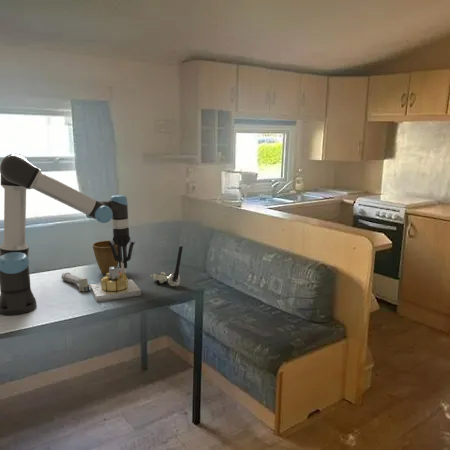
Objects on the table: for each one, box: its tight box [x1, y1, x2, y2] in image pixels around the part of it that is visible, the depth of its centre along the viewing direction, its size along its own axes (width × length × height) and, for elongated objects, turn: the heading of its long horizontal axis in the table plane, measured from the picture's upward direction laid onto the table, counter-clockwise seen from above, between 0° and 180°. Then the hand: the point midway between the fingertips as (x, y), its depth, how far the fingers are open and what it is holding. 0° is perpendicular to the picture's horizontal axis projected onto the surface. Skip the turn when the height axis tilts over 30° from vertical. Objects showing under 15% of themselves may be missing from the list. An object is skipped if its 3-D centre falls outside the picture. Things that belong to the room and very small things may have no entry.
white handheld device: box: [60, 272, 91, 292], centre depth 226 cm, size 5×7×25 cm
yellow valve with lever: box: [100, 270, 129, 291], centre depth 219 cm, size 20×12×5 cm, turn 179°
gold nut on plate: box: [89, 266, 142, 302], centre depth 215 cm, size 20×18×12 cm
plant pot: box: [92, 239, 119, 275], centre depth 247 cm, size 15×15×16 cm
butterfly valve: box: [150, 245, 184, 288], centre depth 229 cm, size 9×20×17 cm
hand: (123, 274), depth 226 cm, fingers closed
